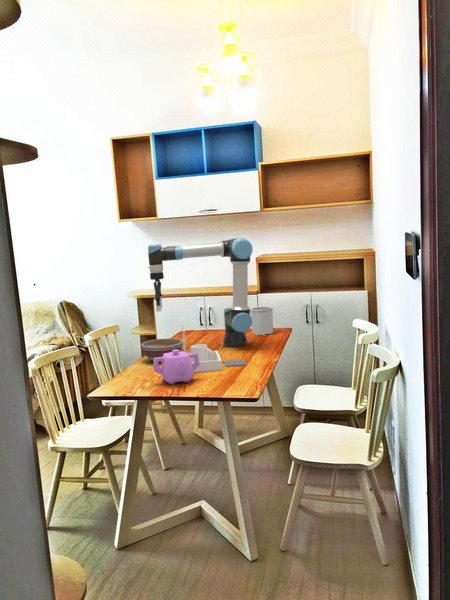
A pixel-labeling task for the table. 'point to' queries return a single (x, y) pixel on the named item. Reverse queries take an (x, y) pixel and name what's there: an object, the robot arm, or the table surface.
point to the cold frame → (206, 365)
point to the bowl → (160, 347)
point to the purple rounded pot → (176, 366)
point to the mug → (201, 352)
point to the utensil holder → (262, 320)
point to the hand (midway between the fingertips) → (159, 309)
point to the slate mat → (234, 363)
